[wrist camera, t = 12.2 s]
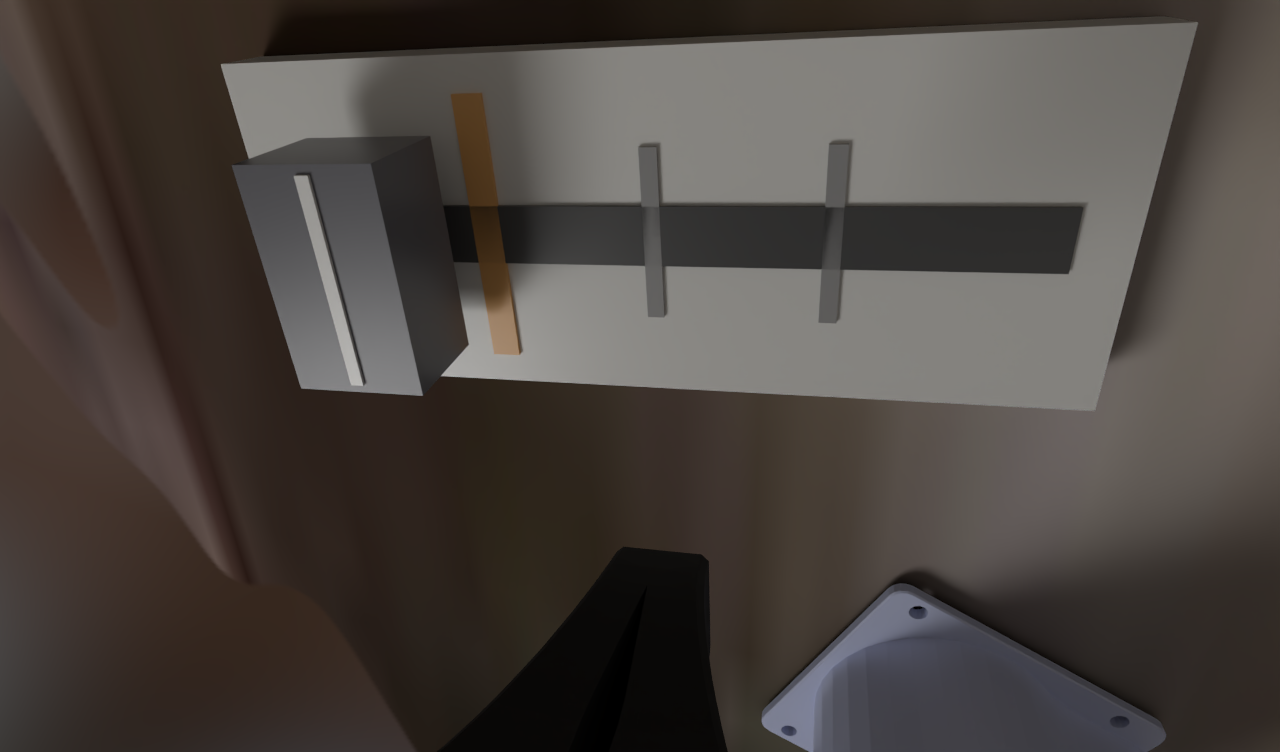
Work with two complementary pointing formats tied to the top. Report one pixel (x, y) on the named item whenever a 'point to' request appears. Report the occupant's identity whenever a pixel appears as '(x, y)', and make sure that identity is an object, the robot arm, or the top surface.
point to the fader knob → (357, 260)
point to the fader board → (777, 200)
